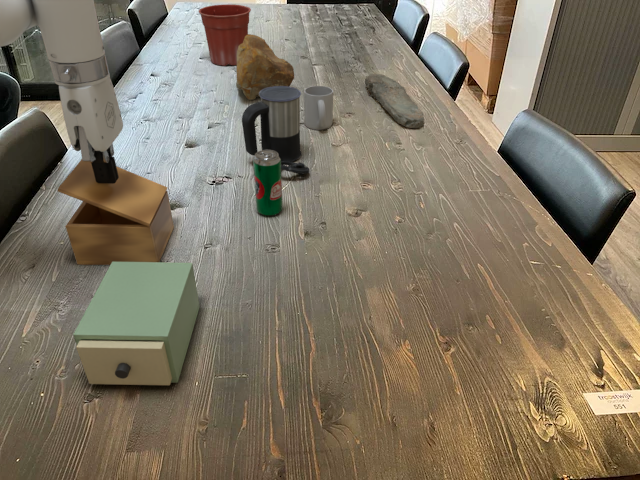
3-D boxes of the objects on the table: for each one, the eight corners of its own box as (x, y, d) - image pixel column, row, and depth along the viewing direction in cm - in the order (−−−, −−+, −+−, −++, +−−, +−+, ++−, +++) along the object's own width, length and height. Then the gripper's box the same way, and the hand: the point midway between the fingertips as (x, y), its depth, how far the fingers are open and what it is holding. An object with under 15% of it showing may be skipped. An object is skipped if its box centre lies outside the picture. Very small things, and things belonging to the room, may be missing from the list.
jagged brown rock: (292, 110, 148) (296, 54, 140) (231, 105, 147) (231, 49, 139) (293, 83, 168) (296, 33, 159) (239, 79, 166) (239, 28, 158)
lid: (57, 191, 83) (58, 187, 82) (85, 156, 92) (86, 153, 92) (148, 227, 86) (149, 223, 86) (166, 190, 96) (167, 187, 95)
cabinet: (177, 382, 71) (167, 336, 66) (89, 381, 71) (72, 334, 66) (199, 306, 83) (192, 262, 78) (124, 305, 83) (112, 261, 78)
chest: (77, 264, 91) (64, 226, 86) (101, 226, 100) (91, 189, 96) (157, 265, 91) (149, 227, 86) (174, 227, 100) (167, 190, 96)
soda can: (276, 219, 103) (273, 163, 96) (252, 214, 104) (247, 158, 97) (286, 206, 106) (285, 151, 99) (263, 201, 108) (260, 146, 101)
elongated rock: (395, 136, 136) (431, 134, 139) (398, 116, 133) (436, 115, 135) (356, 82, 163) (387, 81, 165) (358, 64, 160) (390, 64, 162)
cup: (329, 118, 142) (330, 85, 137) (336, 134, 134) (337, 99, 129) (302, 119, 141) (302, 86, 136) (307, 135, 133) (307, 101, 128)
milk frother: (279, 142, 130) (276, 82, 121) (333, 160, 122) (334, 97, 114) (239, 165, 120) (233, 101, 112) (295, 186, 113) (293, 119, 104)
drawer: (167, 393, 68) (158, 356, 64) (85, 391, 68) (71, 354, 64) (191, 312, 80) (185, 277, 76) (122, 311, 80) (112, 276, 76)
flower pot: (206, 53, 187) (200, 4, 178) (253, 52, 188) (250, 3, 179) (202, 69, 174) (196, 16, 164) (254, 67, 175) (251, 15, 166)
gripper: (87, 87, 71) (116, 205, 82) (122, 53, 83) (143, 160, 94) (30, 86, 71) (66, 204, 82) (74, 52, 84) (100, 159, 94)
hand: (107, 180), depth 88 cm, fingers closed
